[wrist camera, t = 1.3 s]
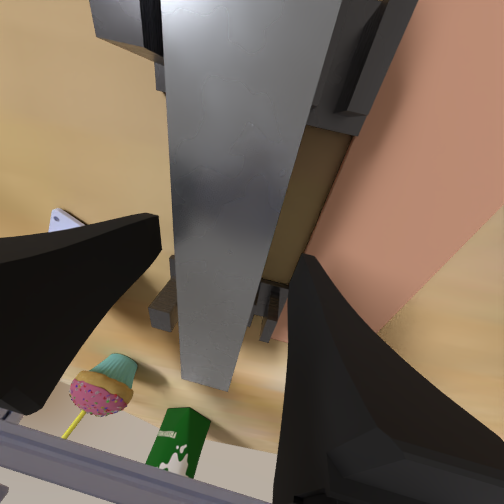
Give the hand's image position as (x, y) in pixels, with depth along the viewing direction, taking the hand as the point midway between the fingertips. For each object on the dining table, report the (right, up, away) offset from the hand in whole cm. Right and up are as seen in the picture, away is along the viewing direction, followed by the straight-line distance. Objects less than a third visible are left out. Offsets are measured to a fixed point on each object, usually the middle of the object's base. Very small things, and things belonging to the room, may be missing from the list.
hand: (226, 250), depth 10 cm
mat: (+10, +1, +4) cm, 11 cm away
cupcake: (-20, -18, +23) cm, 36 cm away
